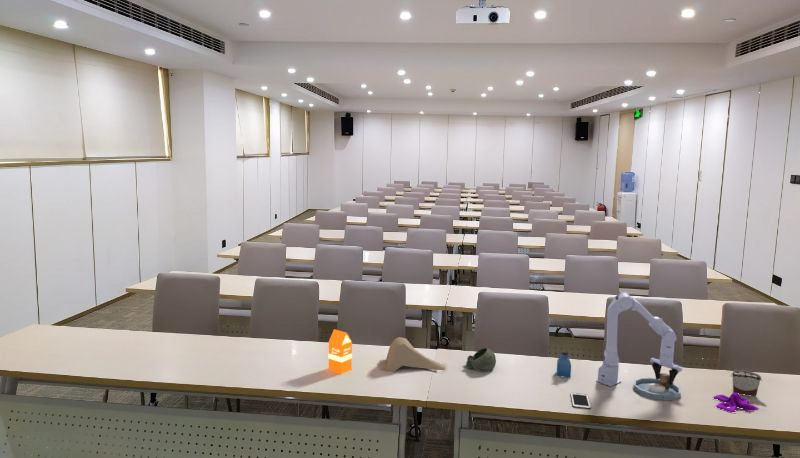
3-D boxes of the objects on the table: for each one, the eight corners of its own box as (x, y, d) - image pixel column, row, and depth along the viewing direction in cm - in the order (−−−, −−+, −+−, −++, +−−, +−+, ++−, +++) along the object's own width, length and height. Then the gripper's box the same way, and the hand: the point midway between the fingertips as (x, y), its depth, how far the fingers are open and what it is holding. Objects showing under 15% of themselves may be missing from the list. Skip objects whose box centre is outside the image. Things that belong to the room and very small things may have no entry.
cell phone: (572, 408, 249) (572, 406, 248) (570, 394, 263) (570, 392, 263) (591, 410, 247) (591, 408, 247) (587, 396, 261) (587, 394, 261)
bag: (376, 378, 286) (446, 379, 281) (374, 346, 281) (445, 347, 277) (382, 360, 304) (448, 361, 299) (380, 330, 300) (447, 331, 295)
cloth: (718, 413, 247) (719, 400, 246) (703, 395, 265) (705, 383, 265) (774, 418, 243) (776, 405, 243) (756, 400, 261) (757, 387, 261)
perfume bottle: (570, 377, 282) (571, 354, 280) (557, 376, 283) (558, 353, 281) (569, 373, 288) (570, 350, 286) (556, 371, 289) (558, 349, 287)
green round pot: (466, 361, 300) (466, 343, 299) (495, 363, 299) (495, 345, 297) (465, 372, 286) (466, 353, 284) (496, 374, 284) (497, 355, 282)
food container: (756, 392, 269) (758, 371, 268) (759, 397, 264) (762, 376, 262) (726, 388, 273) (728, 368, 272) (729, 393, 267) (731, 372, 266)
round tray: (665, 403, 254) (666, 399, 254) (625, 388, 270) (625, 383, 270) (688, 393, 266) (689, 388, 266) (648, 379, 282) (648, 374, 282)
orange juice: (338, 365, 290) (339, 327, 288) (351, 369, 285) (352, 330, 283) (328, 370, 284) (328, 331, 281) (341, 374, 279) (341, 334, 276)
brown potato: (666, 389, 269) (667, 377, 268) (657, 386, 272) (658, 374, 271) (670, 387, 271) (672, 375, 271) (661, 384, 275) (663, 372, 274)
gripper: (686, 356, 266) (683, 384, 268) (656, 347, 278) (654, 374, 279) (678, 359, 262) (675, 388, 264) (648, 350, 273) (646, 377, 275)
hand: (664, 381), depth 271 cm, fingers open, 6 cm apart
